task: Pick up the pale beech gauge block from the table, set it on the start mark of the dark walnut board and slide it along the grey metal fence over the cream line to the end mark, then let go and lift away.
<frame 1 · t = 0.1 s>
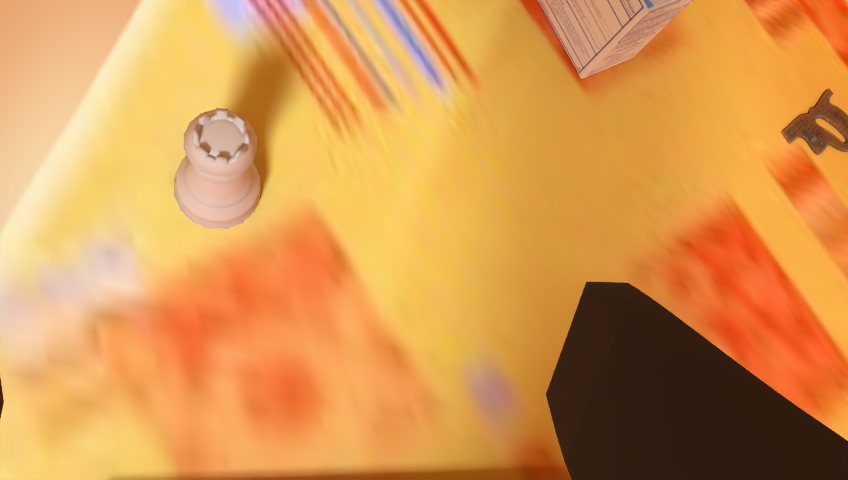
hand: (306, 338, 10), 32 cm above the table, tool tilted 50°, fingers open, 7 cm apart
medicine box: (574, 20, 52), on the table
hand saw: (740, 192, 52), on the table
rook chess piece: (217, 192, 43), on the table
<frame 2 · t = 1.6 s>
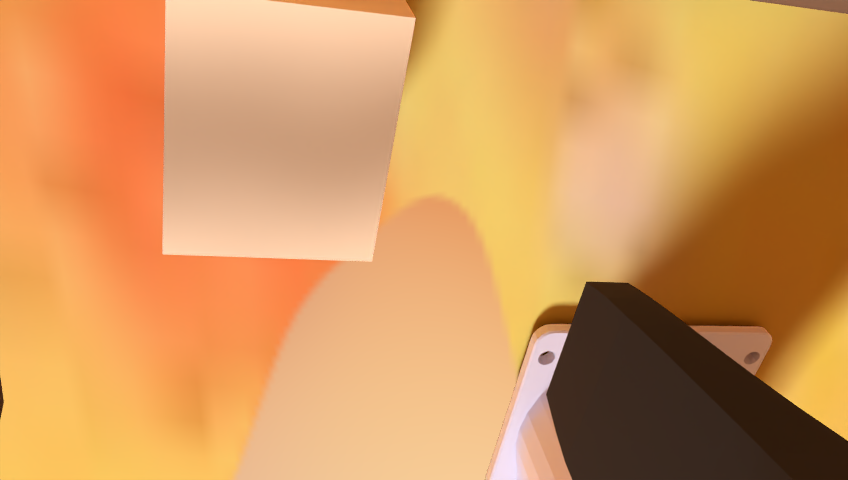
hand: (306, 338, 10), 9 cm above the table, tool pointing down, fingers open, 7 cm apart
gauge block: (271, 58, 17), on the table
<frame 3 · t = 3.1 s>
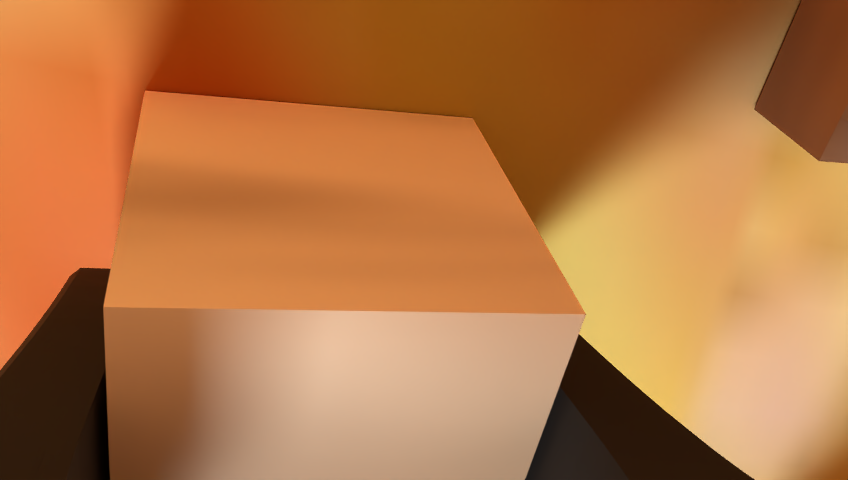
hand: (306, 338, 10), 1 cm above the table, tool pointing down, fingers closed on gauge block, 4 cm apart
gauge block: (297, 270, 11), on the table, touching gripper
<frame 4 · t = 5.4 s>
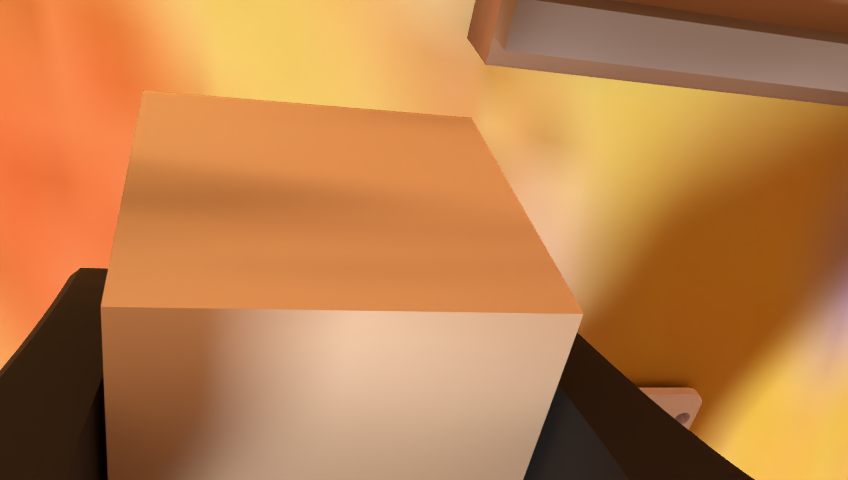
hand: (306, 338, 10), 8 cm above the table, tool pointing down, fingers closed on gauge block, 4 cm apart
gauge block: (296, 270, 11), point 7 cm above the table, touching gripper
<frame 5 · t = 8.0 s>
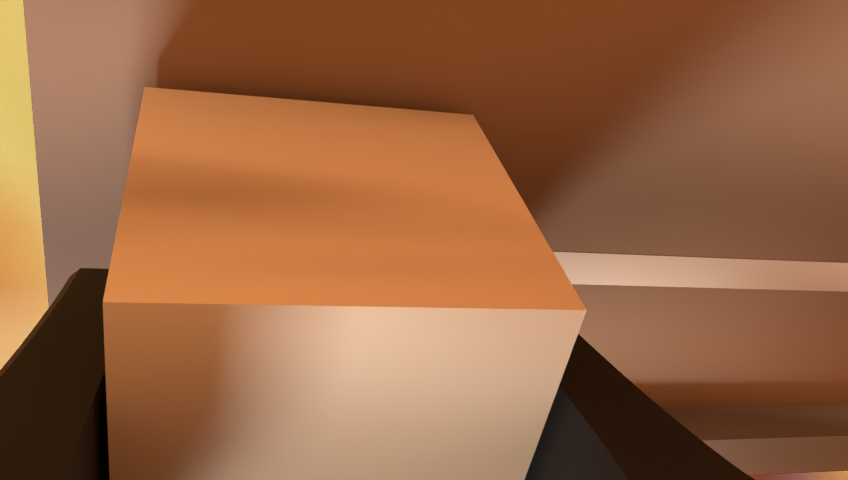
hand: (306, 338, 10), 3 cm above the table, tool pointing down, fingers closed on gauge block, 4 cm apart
walnut board: (815, 216, 15), on the table
gauge block: (297, 267, 11), point 2 cm above the table, touching gripper
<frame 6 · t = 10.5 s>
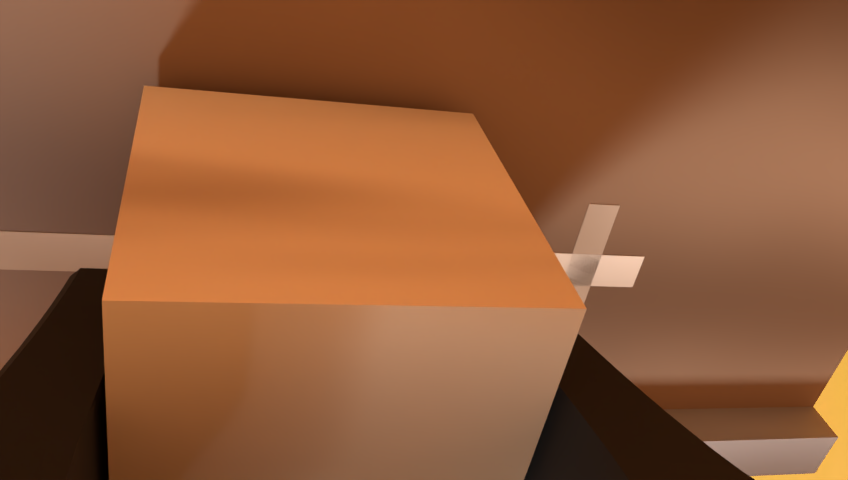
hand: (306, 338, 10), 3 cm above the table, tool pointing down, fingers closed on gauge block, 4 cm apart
walnut board: (114, 178, 12), on the table
gauge block: (297, 267, 11), point 2 cm above the table, touching gripper
when the fingers open (3 cm above the table, at t = 12.9 s): gauge block stays where it is, resting on walnut board.
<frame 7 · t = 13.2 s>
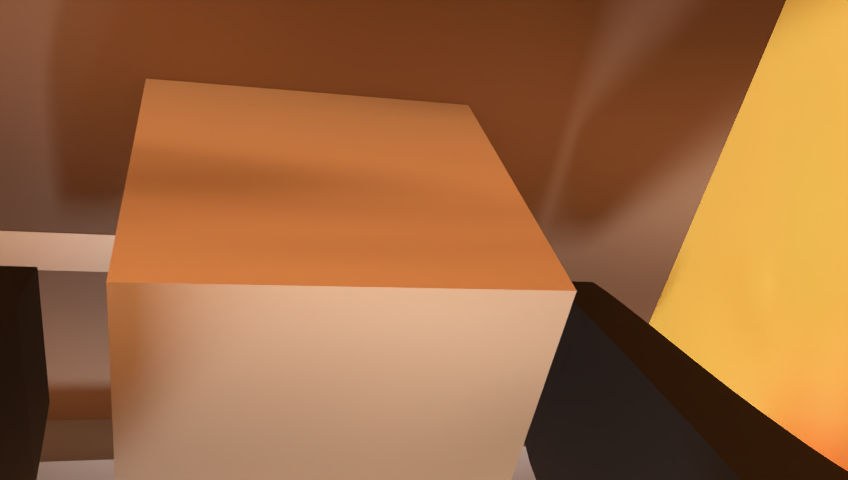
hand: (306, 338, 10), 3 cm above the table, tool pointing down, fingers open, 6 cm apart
gauge block: (297, 256, 11), point 2 cm above the table, touching walnut board
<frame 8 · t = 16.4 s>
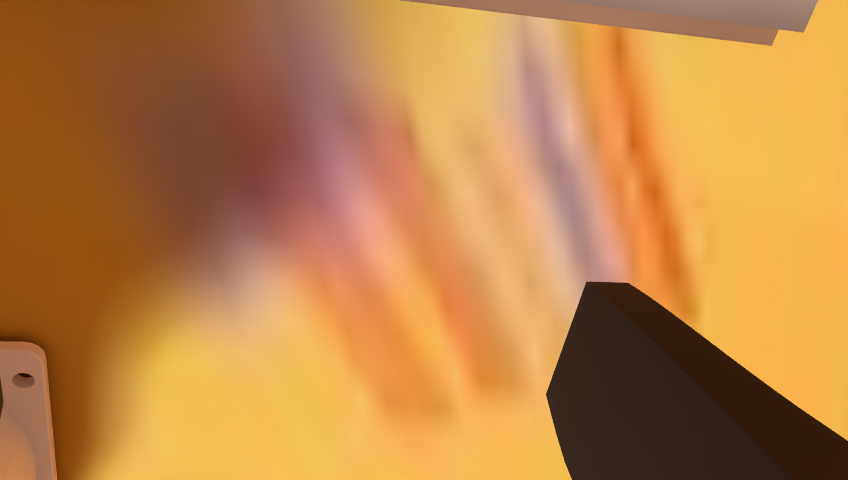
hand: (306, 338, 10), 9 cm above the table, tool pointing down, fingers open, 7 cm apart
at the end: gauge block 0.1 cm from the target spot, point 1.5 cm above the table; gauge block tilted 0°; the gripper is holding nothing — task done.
